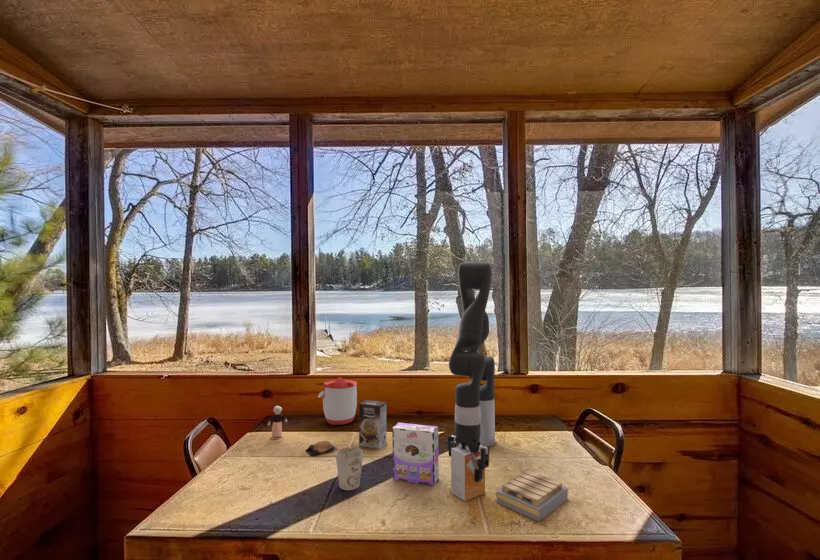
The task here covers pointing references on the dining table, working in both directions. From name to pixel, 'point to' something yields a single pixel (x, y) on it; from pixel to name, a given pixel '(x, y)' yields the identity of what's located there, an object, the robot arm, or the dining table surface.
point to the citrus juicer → (339, 401)
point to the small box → (465, 475)
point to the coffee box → (372, 424)
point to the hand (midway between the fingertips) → (468, 476)
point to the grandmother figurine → (277, 422)
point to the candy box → (415, 453)
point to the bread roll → (320, 448)
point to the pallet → (532, 487)
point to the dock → (526, 506)
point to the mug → (349, 467)
